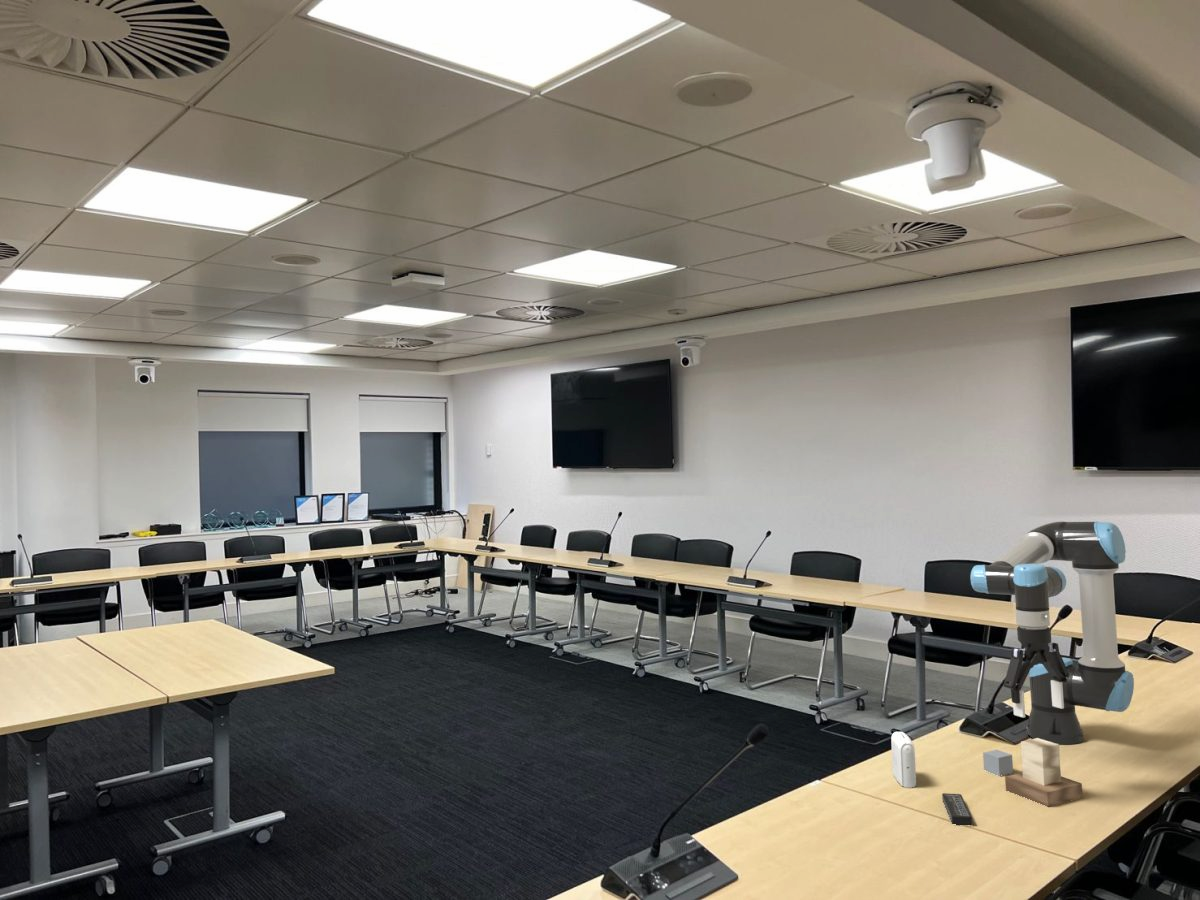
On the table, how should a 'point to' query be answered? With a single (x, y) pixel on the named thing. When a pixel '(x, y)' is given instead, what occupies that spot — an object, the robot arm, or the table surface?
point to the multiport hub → (957, 809)
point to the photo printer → (903, 759)
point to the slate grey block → (998, 762)
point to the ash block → (1041, 761)
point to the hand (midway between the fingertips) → (1039, 711)
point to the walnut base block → (1044, 790)
